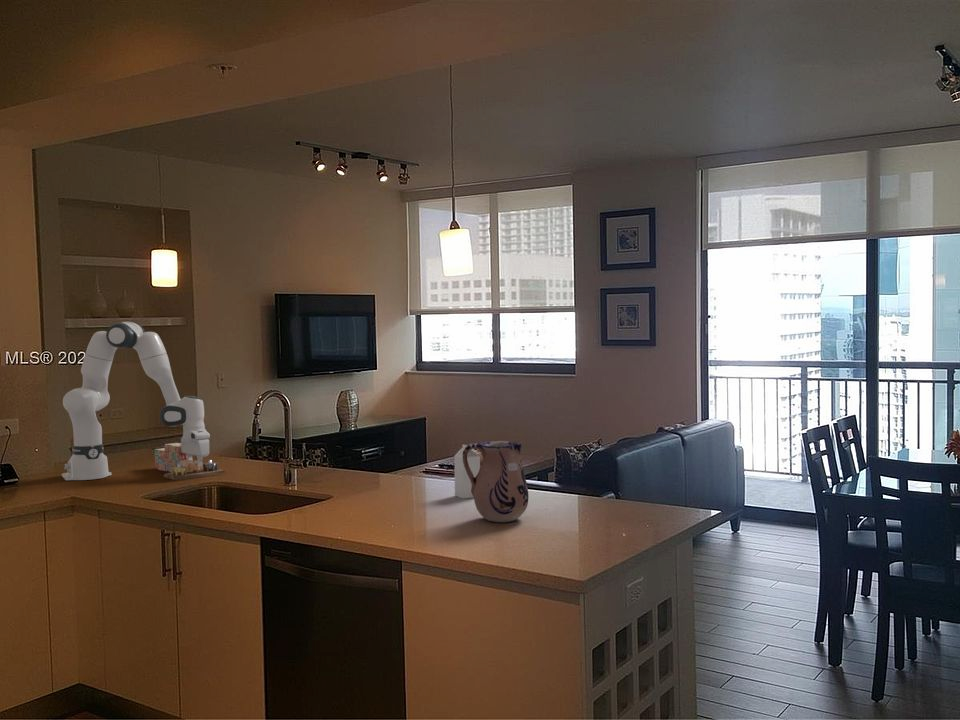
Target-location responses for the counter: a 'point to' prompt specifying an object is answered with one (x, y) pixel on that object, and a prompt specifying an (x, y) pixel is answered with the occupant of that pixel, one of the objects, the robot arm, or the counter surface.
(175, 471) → the drive gears
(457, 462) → the milk carton
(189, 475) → the gear board
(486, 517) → the ceramic pitcher
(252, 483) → the counter surface
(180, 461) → the stack of blocks
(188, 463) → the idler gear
